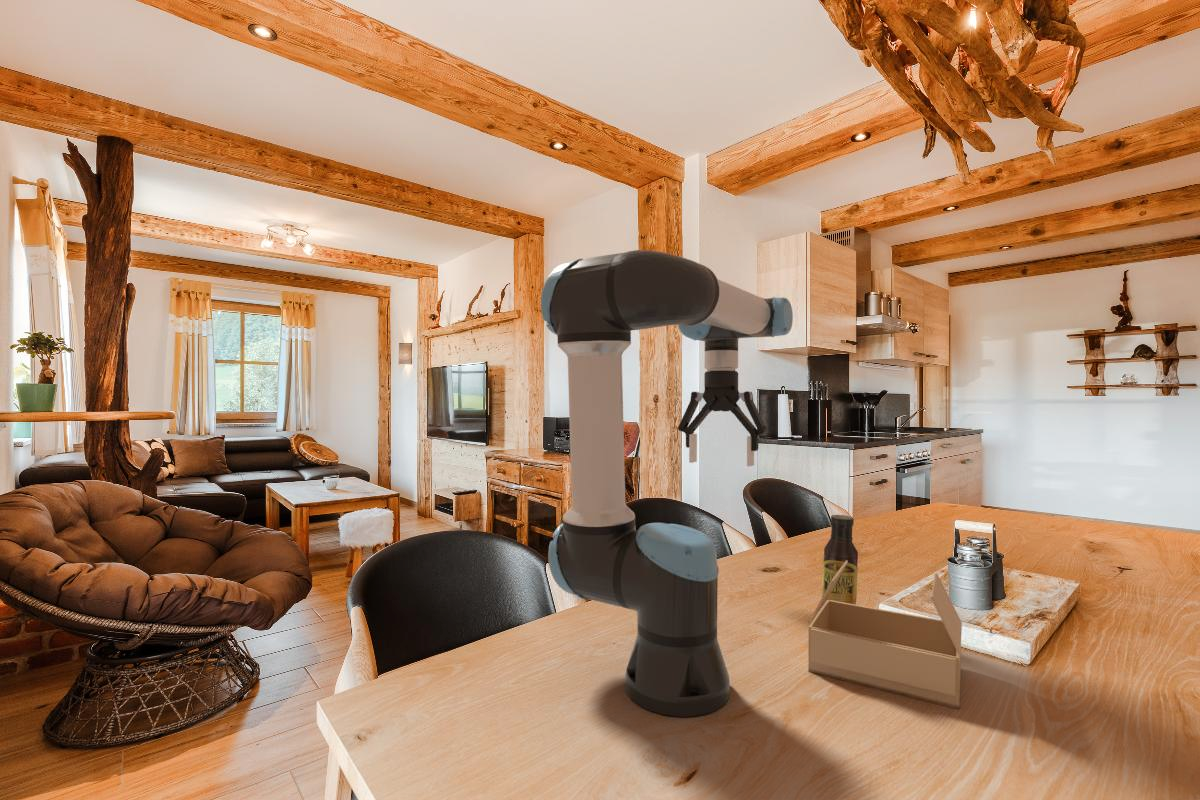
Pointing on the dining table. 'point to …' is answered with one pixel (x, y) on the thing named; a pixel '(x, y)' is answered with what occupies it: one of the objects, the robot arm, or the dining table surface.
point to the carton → (886, 651)
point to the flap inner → (828, 591)
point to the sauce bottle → (841, 561)
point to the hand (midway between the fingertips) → (721, 464)
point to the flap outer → (947, 612)
